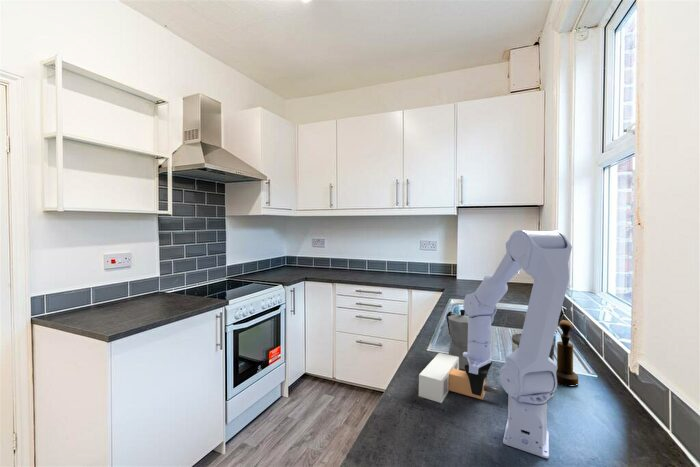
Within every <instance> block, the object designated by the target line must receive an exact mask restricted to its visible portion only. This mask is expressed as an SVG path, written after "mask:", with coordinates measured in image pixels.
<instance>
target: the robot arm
mask: <svg viewBox="0 0 700 467" xmlns="http://www.w3.org/2000/svg"><path fill="white" fill-rule="evenodd" d="M572 248H573V246H572V243H570V241H569V239H568V238H567V237H566V235H565V234H564V233H562V232H561V231H559V230H548V231H547V230H546V231H545V230H523V229H518V230H514V231H513V232H512V233H511V234H510V235H509V238H508V240H507V241H506V242H505V251H506V252H505V254H504V256H503V258H502V259H501V261H500V263H499V264H498V265H497V267H496V269H495V271H494V273H493V274H489V275H486V276H484V277H483V280H482V281H481V283H480V284H479V286H478V287H477V288H476V289H475V292H472V293H467V294H466V295H465V297H464V300H463V310H465V314H466V316H468V351H467V352H464V353H463V357H466V358H467V360H468V362H469V365H467V364H466V365H465V370H464V371H465V372H466V373H467V375H468V378H469V381H470V386H471V391H472V394H475V395H478V396H481V393H482V389H483V384H484V380H485V377H486V379H487V378H488V375H489V370H490V369H491V367H492V365H493V360H492V354H491V352H492V350H491V349H492V348H491V347H492V323H494V321H495V320H494V318H495V315H496V313H497V312H498V311H497V310H498V307H497V305H498V303H499V302H500V300H501V299H502V298H503V297H504V296H505V294H507V292H508V289H509V287H508V284H507V283H509V282H510V281H511V280H512V279H513V278H514V277H515V275H517V274H518V273H519V271H521V269H522V270H523V271H524V272H525V273H526V274H527V275H528V276H531V279H533V284H532V289H531V292H530V296H529V301H528V305H527V309H526V314H525V318H524V323H523V327H522V331H521V334H522V335H521V339H520V343H519V347H518V349H517V350H515V351H514V352H512V351H511V353H510V354H508V355H507V356H506V359H505V362H504V363H503V365H501V368H500V369H499V381H500V384H501V387H502V388H503V390H504V391H505V393H506V394H508V396H507V397H508V398H507V400H508V401H507V403H508V404H507V407H508V408H507V420H506V424H505V429H504V434H503V439H502V443H503V444H504V445H506V446H508V447H509V446H510V447H511V448H515V449H517V450H520V451H524V452H527V453H529V454H532V455H534V456H535V455H536V456H538V457H541V458H545V459H549V458H550V442H549V441H550V437H549V436H550V435H549V434H550V432H549V430H547V429H548V400H550V399H551V398H550V393H554V392H555V391H557V388H558V383H557V377H556V372H557V368H558V367H557V363H556V362H555V360H554V361H553V360H552V359H551V358H550V357H549V354H550V350H551V346H552V343H553V341H554V339H555V334H556V331H557V327H558V325H559V324H558V323H559V319H560V315H561V312H562V308H563V304H564V301H565V297H566V293H567V288H568V285H569V280H570V273H569V272H570V270H569V260H570V257H571V252H572Z"/></svg>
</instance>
